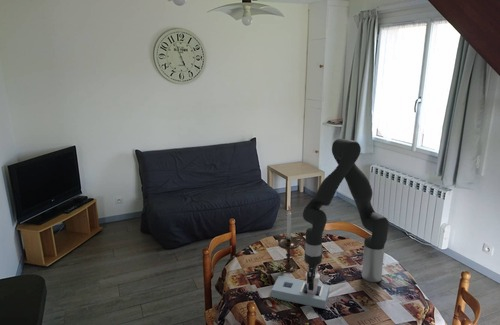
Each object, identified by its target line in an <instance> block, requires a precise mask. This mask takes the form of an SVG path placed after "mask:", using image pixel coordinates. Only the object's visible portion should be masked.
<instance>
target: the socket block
mask: <svg viewBox="0 0 500 325" xmlns="http://www.w3.org/2000/svg"><path fill="white" fill-rule="evenodd" d="M330 287H331V285H330V284H325V283H321V282H318V286H317V292H316V295H310V294H308V291H307V281H306V280H303V279H298V278H293V277H288V276H281V275H278V276H277V278H276V281H275V282H274V283H273V286H272V288H271V298H272V297H273V298H272V299H276V298H277V299H276V300H282V301H286V302H289V303H295V304H301V305H305V306H310V307H313V308H318V309H324V310H326V308H327V303H328V299H329V294H330ZM305 292H307V293H305ZM317 294H318V295H317Z"/></svg>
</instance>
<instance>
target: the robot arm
mask: <svg viewBox="0 0 500 325" xmlns="http://www.w3.org/2000/svg"><path fill="white" fill-rule="evenodd" d="M361 150H362V148H361V145H360V143H359V142H358V141H356V140H354V139H353V140H352V139H346V138H338V139H335V140H334V141H333V142H332V145H331V153H332V155H333V158H334V160H335V162H336V163H337V166H336V167H335V168H334V170H332V172H331V173H329V174H328V175H327V176H326V177H325V178H324V180H323V181H322V182H321V183H320V186H319V187H318V189H317V191H316V194H315V195H314V197H312V198H311V200H310V201H309V202H308V203H307V205H306V206H305V207H304V209H303V213H302V218H303V220H304V221H305V222H307V223H309V224H311V225H312V227H308V228H307V229H306V231H305V240H304V241H305V243H304V255H303V256H304V262H305V263H306V264H307V271H306V272H307V283H308V290H312V291H313V289H314V278H315V277H316V272H318V271H319V269H318V268H319V265H320V264H322V263H323V262H322V261H323V260H322V259H323V232H324V230H325V228H326V224H327V222H328V218H327V215H326V213H325V211H323V210H322V209H320V208H322V207H323V206H325V207H328V206H330V205H331V203H332V200H333V198H334V197H335V195H336V192H337V191H338V189H339V187H340V185H341V183H342V182H343V181H344V180H345V183H346V184H347V187H348V189H349V192H350V194H351V196H352V198H353V201H354V203H355V205H356V208H357V210H358V213H359V218H360V220H361V224H362V226H363V227H364V228H365V229H366V230H367V231H369V232H371V235H370V236H367V237H365V238H364V241H363V252H362V253H363V254H362V265H361V266H362V267H361V268H362V269H361V277H362V279H363V280H365V281H366V282H370V283H378V282H380V281H381V280H382V277H383V264H384V255H385V246H386V245H385V244H386V242H387V241H388V239H387V238H388V234H389V227H390V226H389V220H388V218H387V217H386V216H384V215H381V214H379V213H377V212H376V211H375V210H374V208H373V205H372V203H371V202H372V198H373V188H372V187H371V184H370V181H369V178H368V177H367V176H366V175H365V173H364V172H363V171H362V170H361V169H360V168H359V167H358V166H357V165H356V162H357V160H358V159H359V157H360V155H361V152H362V151H361ZM313 274H314V276H313Z"/></svg>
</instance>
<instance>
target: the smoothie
mask: <svg viewBox="0 0 500 325" xmlns="http://www.w3.org/2000/svg"><path fill="white" fill-rule="evenodd" d="M307 272H308V271H306V272H305V274H304V277H305V278H306V279H305V281H307ZM313 276H314V274H313ZM320 278H321V275H320V273H319V272H318V271H317V272H316V277H315V278H314V289H313V291H312V290H308V283H307V291H308V292H307V291H306V292H307V294H310V295H315V296H317V293H316V292H317V286H318V283H319V280H320Z"/></svg>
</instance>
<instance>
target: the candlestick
mask: <svg viewBox="0 0 500 325" xmlns="http://www.w3.org/2000/svg"><path fill="white" fill-rule="evenodd" d="M287 209H288V212H287V214H286V217H287V218H286V223H287V224H286V225H287V226H286V230H287V231H286V236H285V237H283V238H280V239H279V240H278V242H277V245H278V247H279V248H281V249H284V250H287V252H286V253H285V256H286V258H285V260H286V262H287V263H286V265H285V266H284V267H285V268H286V269H283V268H281V266H280V265H281V264H283V263H284V262H285V261H284V262H281V263H280V264H279V269H280V268H281V269H282V270H283V271H286V272H285V273H287V272H291V273H294V272H293V271H295V270H296V269H297V270H298V265H297V264H296V263H294V262H291V261H292V259H291V257H292V253H291V250H296V249H298V248H299V247H300V240H298V239H296V238H293V236H291V235H292V234H291V233H292V212H291V206H290V205H288V208H287ZM282 270H281V271H282ZM297 270H296V271H297ZM283 271H282V272H283ZM296 271H295V272H296Z"/></svg>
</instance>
